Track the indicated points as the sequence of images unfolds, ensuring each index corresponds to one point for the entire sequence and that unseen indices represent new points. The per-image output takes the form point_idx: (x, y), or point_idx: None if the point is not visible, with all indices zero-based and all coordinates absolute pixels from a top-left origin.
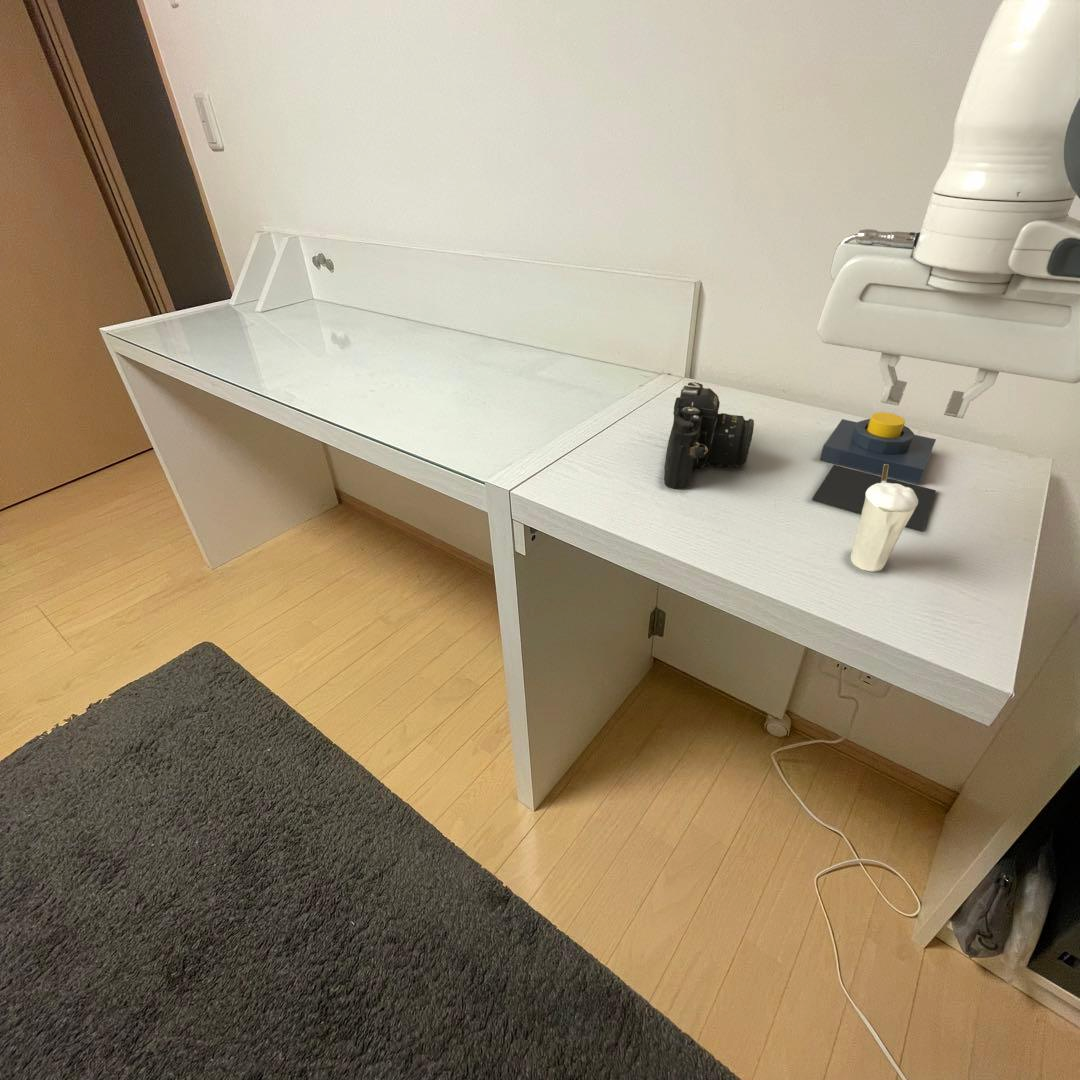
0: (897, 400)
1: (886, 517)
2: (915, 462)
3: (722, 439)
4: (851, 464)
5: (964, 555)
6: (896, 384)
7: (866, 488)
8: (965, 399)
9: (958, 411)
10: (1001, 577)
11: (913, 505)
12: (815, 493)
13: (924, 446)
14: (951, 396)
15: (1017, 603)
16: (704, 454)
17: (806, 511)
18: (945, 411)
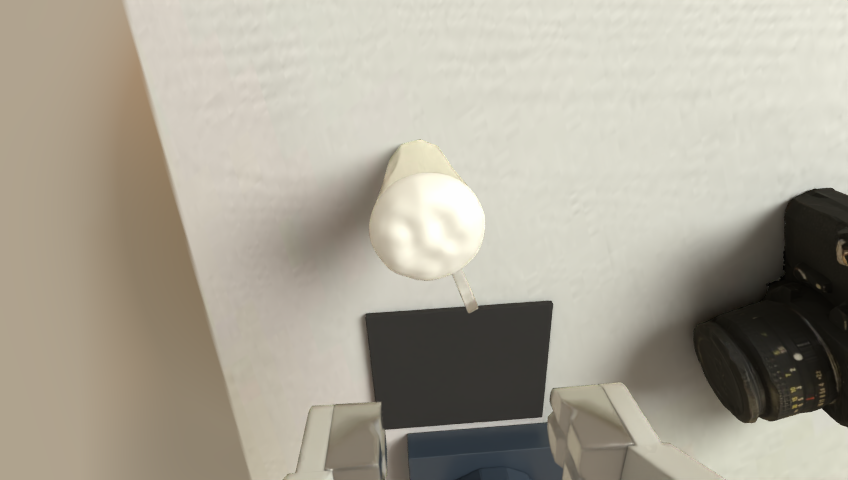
0: (569, 397)
1: (417, 168)
2: (425, 471)
3: (790, 335)
4: (515, 430)
5: (290, 286)
6: (616, 468)
7: (476, 379)
8: (316, 470)
9: (332, 419)
10: (224, 260)
11: (374, 214)
12: (551, 319)
13: None
14: (377, 470)
15: (180, 203)
16: (839, 240)
17: (552, 263)
18: (379, 408)
